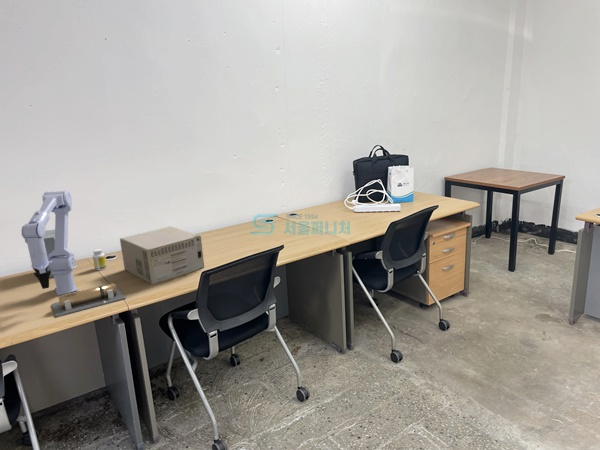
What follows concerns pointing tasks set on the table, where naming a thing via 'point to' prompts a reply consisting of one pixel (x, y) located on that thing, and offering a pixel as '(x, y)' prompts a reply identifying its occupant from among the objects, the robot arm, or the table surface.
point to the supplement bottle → (99, 260)
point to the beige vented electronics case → (162, 254)
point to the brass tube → (87, 295)
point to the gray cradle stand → (87, 303)
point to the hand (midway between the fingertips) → (44, 285)
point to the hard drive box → (49, 244)
